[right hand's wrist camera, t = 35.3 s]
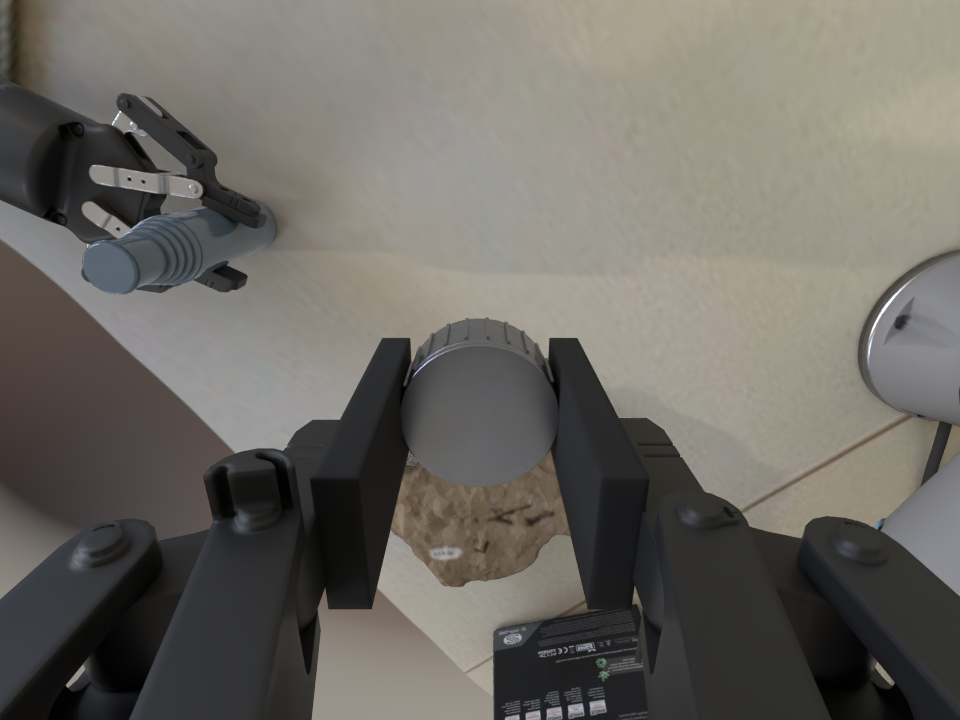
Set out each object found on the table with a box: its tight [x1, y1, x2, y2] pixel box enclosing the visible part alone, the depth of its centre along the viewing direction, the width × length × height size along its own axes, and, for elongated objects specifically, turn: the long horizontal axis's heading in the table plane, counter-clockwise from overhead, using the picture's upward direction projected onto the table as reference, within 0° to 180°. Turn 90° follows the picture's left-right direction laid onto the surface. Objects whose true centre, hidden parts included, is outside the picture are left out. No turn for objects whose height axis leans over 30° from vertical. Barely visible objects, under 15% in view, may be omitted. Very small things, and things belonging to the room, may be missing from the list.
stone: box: [390, 450, 571, 587], centre depth 50 cm, size 21×15×6 cm
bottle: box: [82, 199, 276, 294], centre depth 35 cm, size 4×4×18 cm
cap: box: [400, 318, 559, 487], centre depth 13 cm, size 4×4×2 cm
